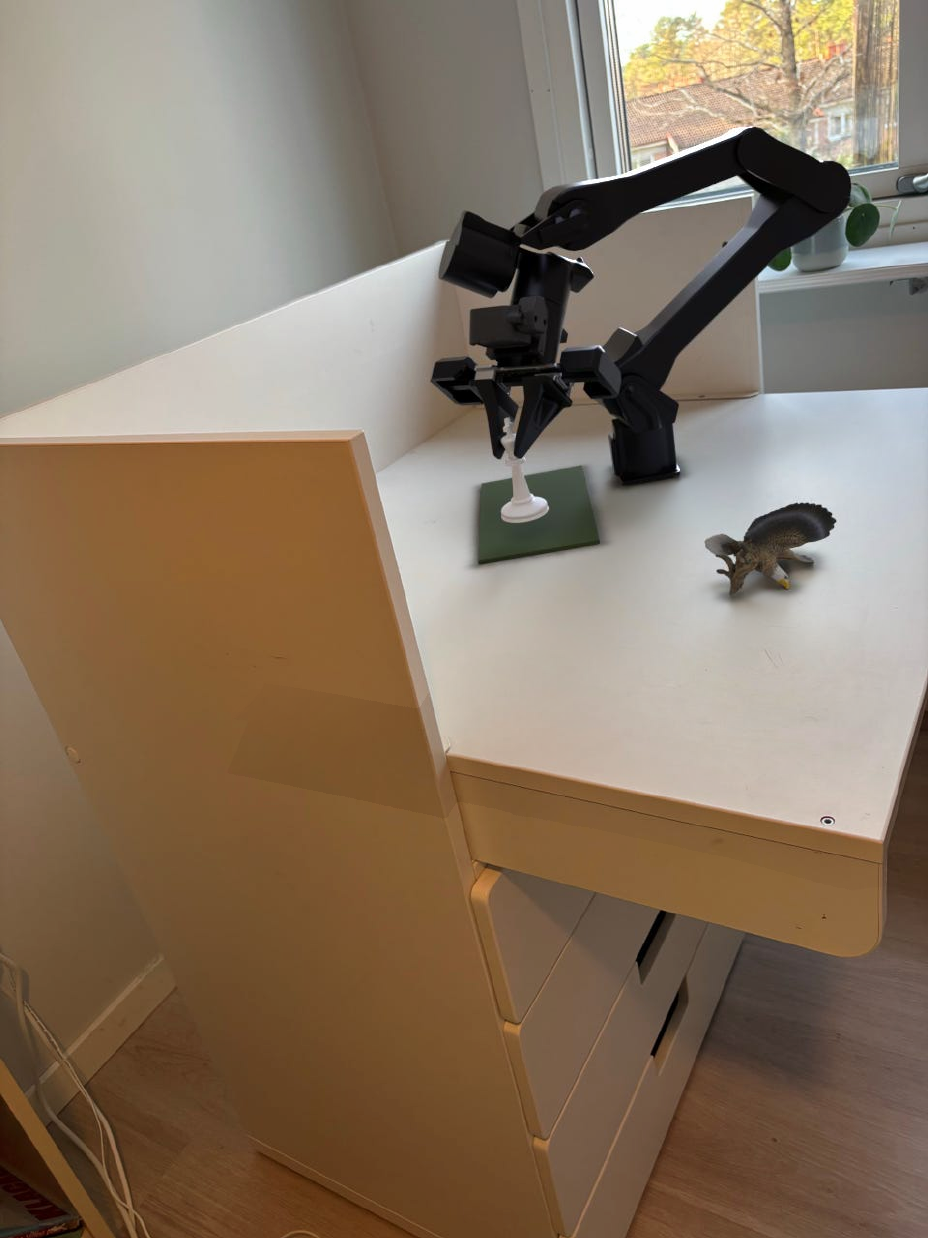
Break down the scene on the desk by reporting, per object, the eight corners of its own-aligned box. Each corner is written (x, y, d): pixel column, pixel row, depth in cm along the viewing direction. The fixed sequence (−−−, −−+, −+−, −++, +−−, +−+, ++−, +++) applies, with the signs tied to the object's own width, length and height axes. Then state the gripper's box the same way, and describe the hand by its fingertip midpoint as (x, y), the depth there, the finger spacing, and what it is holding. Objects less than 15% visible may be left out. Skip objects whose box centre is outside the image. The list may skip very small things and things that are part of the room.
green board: (581, 468, 110) (581, 465, 109) (600, 543, 90) (599, 539, 90) (482, 486, 111) (481, 483, 111) (478, 564, 92) (478, 560, 91)
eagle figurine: (785, 604, 71) (858, 541, 74) (731, 529, 71) (806, 469, 74) (731, 622, 78) (799, 564, 81) (681, 553, 78) (751, 498, 81)
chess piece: (555, 502, 95) (539, 408, 90) (538, 522, 91) (520, 425, 87) (512, 503, 97) (493, 411, 93) (493, 523, 94) (473, 428, 89)
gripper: (417, 278, 91) (383, 425, 89) (591, 253, 81) (558, 418, 79) (473, 335, 101) (443, 470, 98) (635, 319, 91) (607, 469, 88)
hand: (506, 457), depth 90 cm, fingers closed on chess piece
